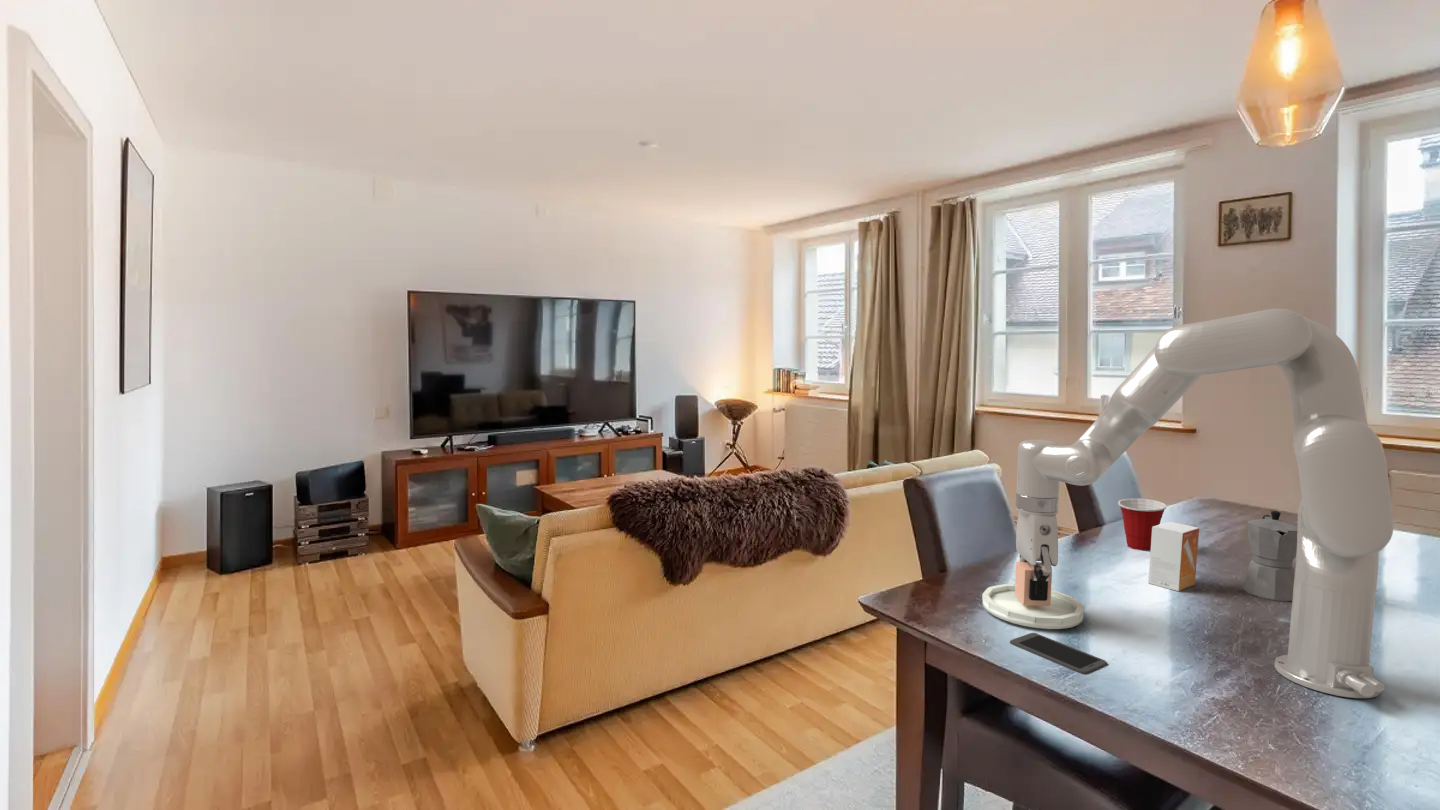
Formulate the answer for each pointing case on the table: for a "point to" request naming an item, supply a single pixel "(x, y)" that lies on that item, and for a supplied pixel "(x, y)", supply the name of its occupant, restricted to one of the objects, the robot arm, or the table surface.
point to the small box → (1173, 555)
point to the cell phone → (1059, 653)
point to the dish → (1033, 609)
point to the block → (1028, 584)
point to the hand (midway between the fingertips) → (1032, 593)
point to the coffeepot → (1271, 558)
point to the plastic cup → (1140, 521)
